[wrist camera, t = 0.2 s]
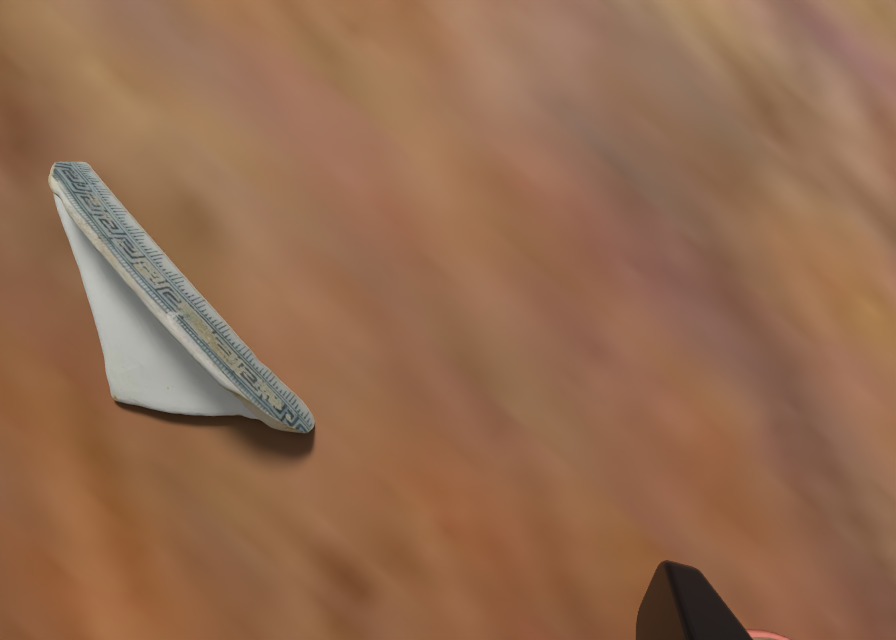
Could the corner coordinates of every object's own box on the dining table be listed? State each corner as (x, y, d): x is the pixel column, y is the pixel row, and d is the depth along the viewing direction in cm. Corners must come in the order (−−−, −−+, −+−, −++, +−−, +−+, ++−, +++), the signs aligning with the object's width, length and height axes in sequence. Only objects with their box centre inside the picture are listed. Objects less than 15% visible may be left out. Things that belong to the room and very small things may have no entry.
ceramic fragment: (323, 421, 23) (291, 421, 20) (215, 519, 23) (161, 537, 19) (102, 160, 26) (35, 114, 22) (1, 245, 25) (-85, 213, 22)
